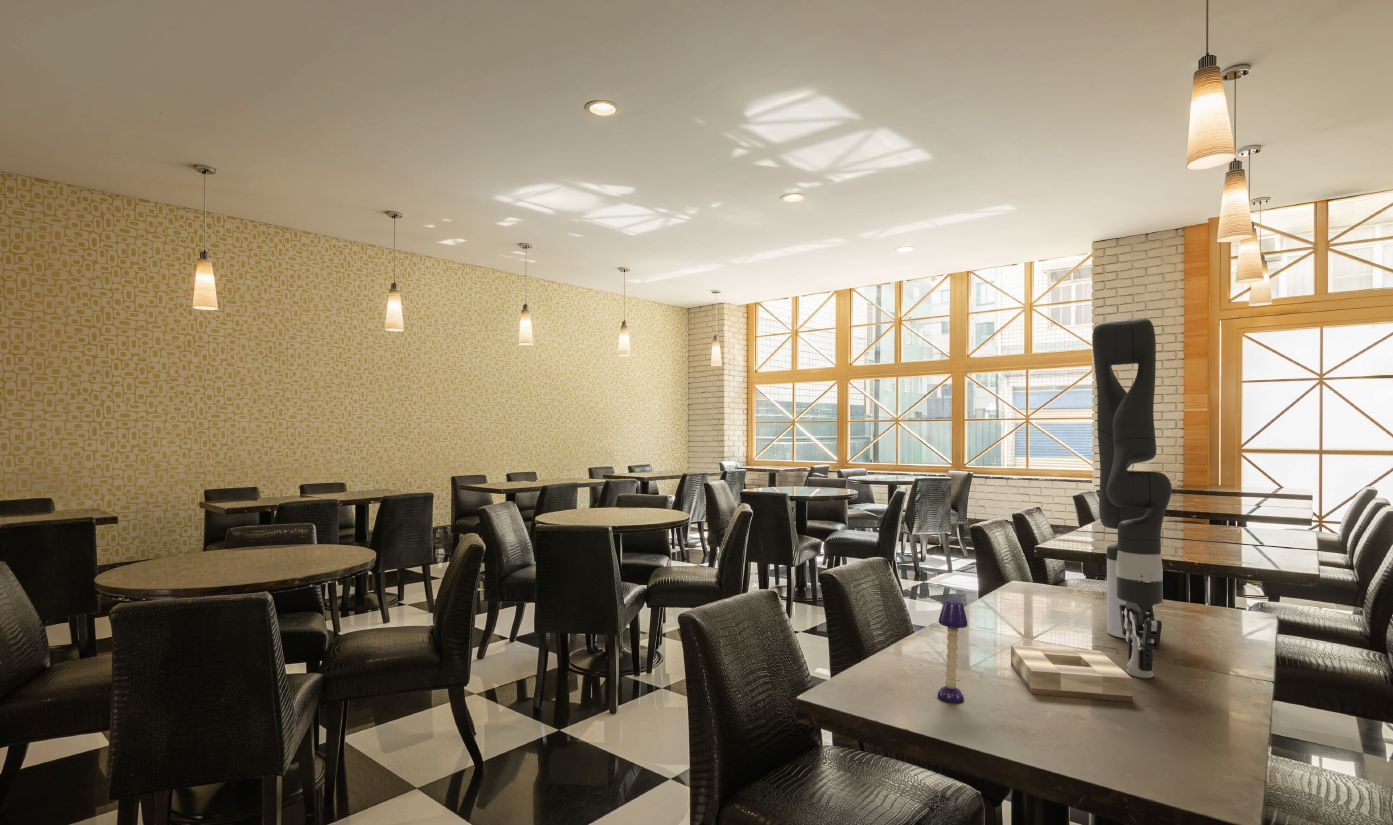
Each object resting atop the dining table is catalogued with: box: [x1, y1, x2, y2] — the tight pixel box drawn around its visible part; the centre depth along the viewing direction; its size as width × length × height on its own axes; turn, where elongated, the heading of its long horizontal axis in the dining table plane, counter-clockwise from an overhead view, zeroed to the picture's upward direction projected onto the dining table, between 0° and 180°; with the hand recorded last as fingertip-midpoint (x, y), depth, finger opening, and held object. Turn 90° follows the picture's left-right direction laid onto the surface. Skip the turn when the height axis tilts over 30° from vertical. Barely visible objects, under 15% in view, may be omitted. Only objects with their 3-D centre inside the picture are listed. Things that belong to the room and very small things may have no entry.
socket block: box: [1010, 644, 1134, 703], centre depth 130 cm, size 16×16×4 cm
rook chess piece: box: [1126, 631, 1155, 679], centre depth 135 cm, size 4×4×8 cm
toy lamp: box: [937, 598, 968, 704], centre depth 121 cm, size 5×5×17 cm
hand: (1140, 665), depth 135 cm, fingers closed on rook chess piece, 4 cm apart
